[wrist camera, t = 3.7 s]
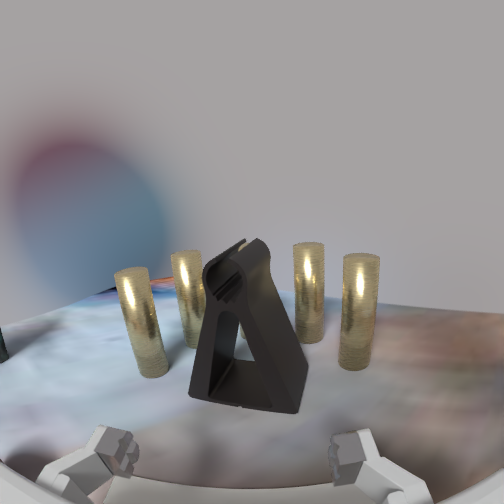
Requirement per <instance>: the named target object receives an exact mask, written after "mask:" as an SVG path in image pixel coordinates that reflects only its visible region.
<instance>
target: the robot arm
mask: <svg viewBox="0 0 504 504" xmlns="http://www.w3.org/2000/svg"><path fill="white" fill-rule="evenodd" d="M132 438H133V435H132V433H131V432H130V431H125V430H120V429H116V428H112V427H108V426H104V425H99V426H97V428H96V429H95V431H94V432H93V434H92V436H91V437H90V439H89V441H88V442H87V444H86V446H85V447H84V448H80V449H78V450H76V451H74V452H72V453H70V454H68V455H66V456H64V457H62V458H60V459H58V460H56V461H54V462H52V463H50V464H47V465H45V467H44V469H43V470H42V472H41V473H40V475H39V476H38V478H37V480H36V481H35V483H34V482H32V481H30V480H29V479H27V478H25V477H24V476H22V475H20V474H19V473H17V472H15V471H14V470H12V469H11V468H9V467H8V466H6V465H5V464H3V463H2V462H0V504H94V503H93V501H92V500H91V499H90V498H88V497H87V495H89V494H90V493H92V492H93V491H94V490H96V489H97V488H98V487H100V486H101V485H102V484H104V483H105V482H106V481H108V480H109V479H110V478H112V477H113V475H115V476H119V477H123V478H127V479H130V478H131V475H132V473H133V470H134V466H133V464H134V463H135V462H137V461H138V458H139V451H140V450H139V446H138V444H137V443H136V442H135V441H134V440H133V439H132ZM330 442H331V445H330V446H329V449H328V460H329V466H330V467H331V468H333V469H332V473H331V476H332V481H333V486H334V487H336V486H342V485H348V484H354V483H355V484H354V485H356V486H357V487H358V488H359V489H360V490H361V491H362V492H363V493H365V494H366V495H367V496H368V497H369V498H370V499H371V500H373V501H374V502H375V503H376V504H434V503H433V500H432V498H431V495H430V493H429V490H428V488H427V486H426V483H425V481H423V480H422V479H420V478H418V477H416V476H415V475H413V474H411V473H410V472H408V471H406V470H405V469H403V468H401V467H400V466H398V465H396V464H395V463H393V462H392V461H390V460H388V459H387V458H385V457H380V455H379V452H378V449H377V447H376V444H375V441H374V439H373V436H372V433H371V431H370V429H369V428H367V429H362V430H357V431H350V432H345V433H339V434H333V435H331V438H330ZM436 504H504V468H501V469H500V470H498V471H496V472H495V473H493V474H491V475H490V476H488V477H486V478H485V479H483V480H481V481H480V482H478V483H476V484H474V485H473V486H471V487H469V488H467V489H465V490H463V491H461V492H459V493H457V494H455V495H453V496H451V497H449V498H447V499H445V500H443V501H441V502H438V503H436Z"/></svg>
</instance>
